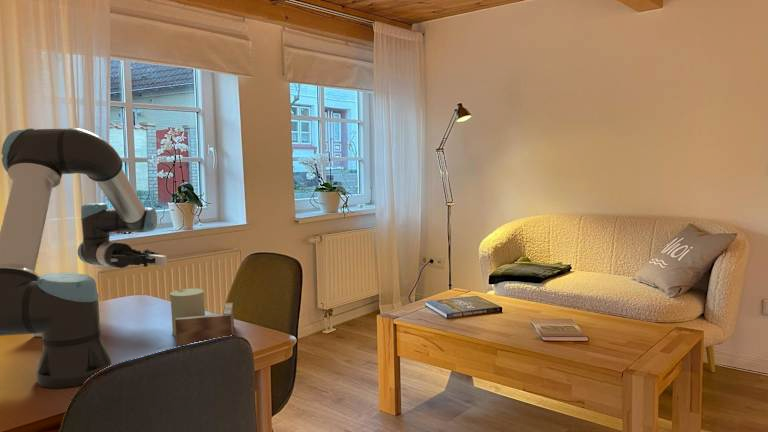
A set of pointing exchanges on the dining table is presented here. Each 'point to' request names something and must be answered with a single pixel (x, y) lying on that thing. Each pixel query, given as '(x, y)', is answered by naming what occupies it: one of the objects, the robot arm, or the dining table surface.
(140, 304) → the dining table surface
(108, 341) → the dining table surface
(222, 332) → the v stop
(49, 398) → the dining table surface
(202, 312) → the can
